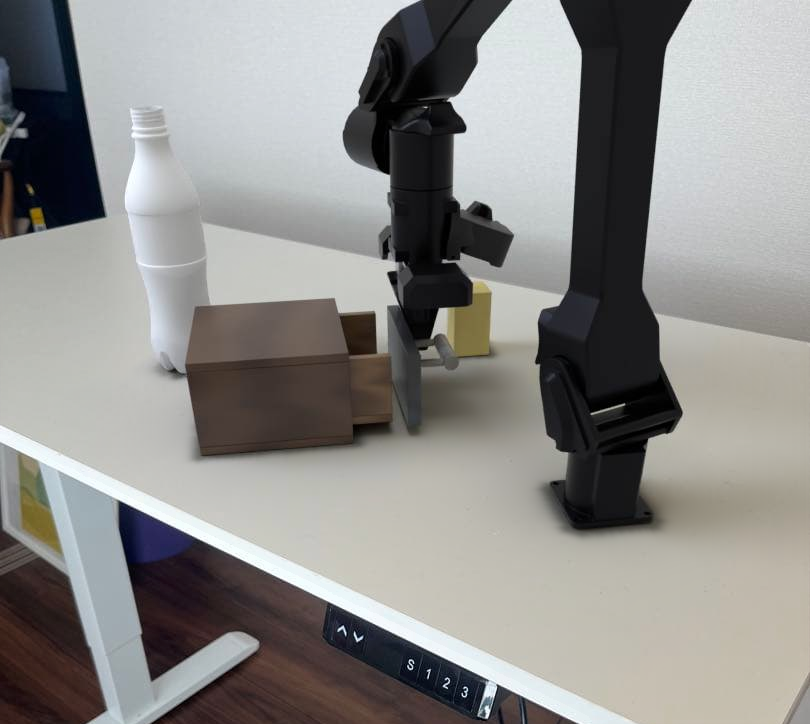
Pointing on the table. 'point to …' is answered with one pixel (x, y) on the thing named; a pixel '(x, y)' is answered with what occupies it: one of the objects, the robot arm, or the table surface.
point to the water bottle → (166, 236)
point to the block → (471, 323)
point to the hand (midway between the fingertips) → (421, 349)
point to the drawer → (388, 366)
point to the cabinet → (269, 376)
